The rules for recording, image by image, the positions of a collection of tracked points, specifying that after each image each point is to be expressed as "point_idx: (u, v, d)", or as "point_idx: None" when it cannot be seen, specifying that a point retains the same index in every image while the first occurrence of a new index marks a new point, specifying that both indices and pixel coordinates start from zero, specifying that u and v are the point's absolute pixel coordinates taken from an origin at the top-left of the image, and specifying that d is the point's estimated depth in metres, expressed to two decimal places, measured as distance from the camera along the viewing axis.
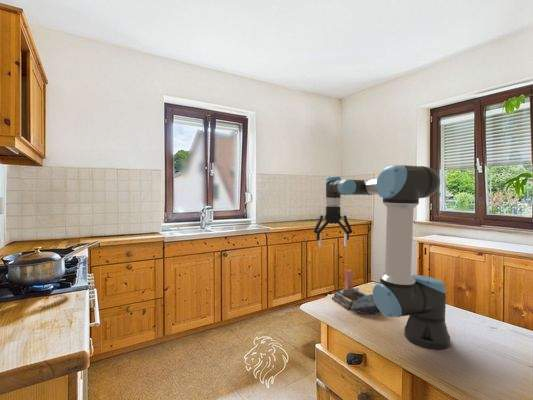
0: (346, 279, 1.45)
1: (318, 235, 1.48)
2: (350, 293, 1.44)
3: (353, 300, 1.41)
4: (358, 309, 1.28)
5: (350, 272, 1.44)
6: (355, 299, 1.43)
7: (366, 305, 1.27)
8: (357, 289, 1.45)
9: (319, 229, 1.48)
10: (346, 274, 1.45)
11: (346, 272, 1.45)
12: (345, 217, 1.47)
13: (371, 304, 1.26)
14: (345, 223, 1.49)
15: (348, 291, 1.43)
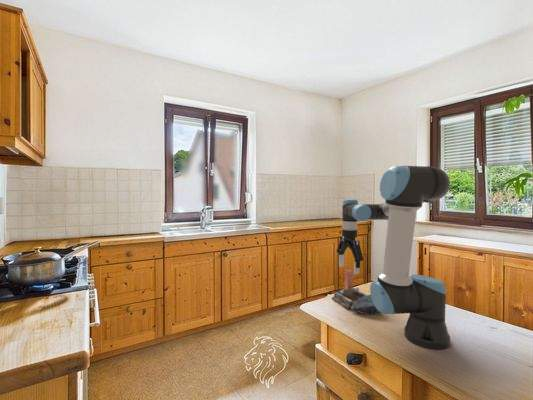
0: (346, 279, 1.45)
1: None
2: (350, 293, 1.44)
3: (353, 300, 1.41)
4: (358, 309, 1.28)
5: (350, 272, 1.44)
6: (355, 299, 1.43)
7: (366, 305, 1.26)
8: (357, 289, 1.45)
9: None
10: (346, 274, 1.45)
11: (346, 272, 1.45)
12: (354, 243, 1.39)
13: (371, 304, 1.26)
14: None
15: (348, 291, 1.43)
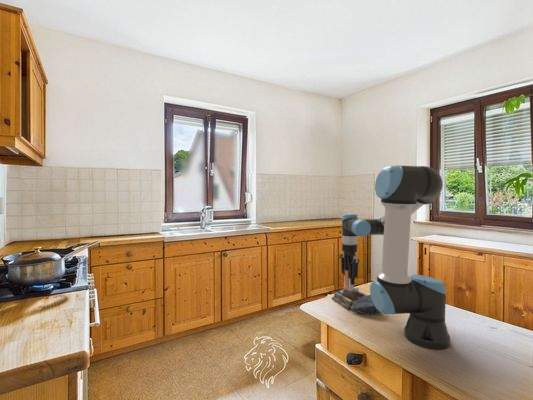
0: (346, 279, 1.45)
1: (344, 276, 1.48)
2: (350, 293, 1.44)
3: (353, 300, 1.41)
4: (358, 309, 1.28)
5: None
6: (355, 299, 1.43)
7: (366, 305, 1.26)
8: (357, 289, 1.45)
9: None
10: (346, 274, 1.45)
11: (346, 272, 1.45)
12: (353, 261, 1.39)
13: (370, 304, 1.26)
14: None
15: (348, 291, 1.43)
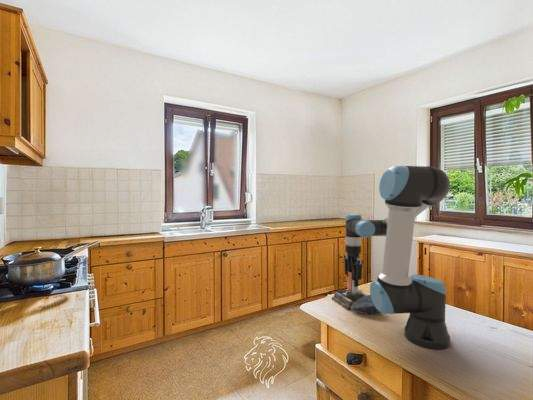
0: (349, 281, 1.42)
1: None
2: (354, 295, 1.41)
3: None
4: (358, 309, 1.28)
5: None
6: None
7: (366, 305, 1.26)
8: (361, 291, 1.42)
9: None
10: (349, 276, 1.42)
11: (349, 274, 1.42)
12: (357, 262, 1.36)
13: (370, 304, 1.26)
14: None
15: (351, 293, 1.40)
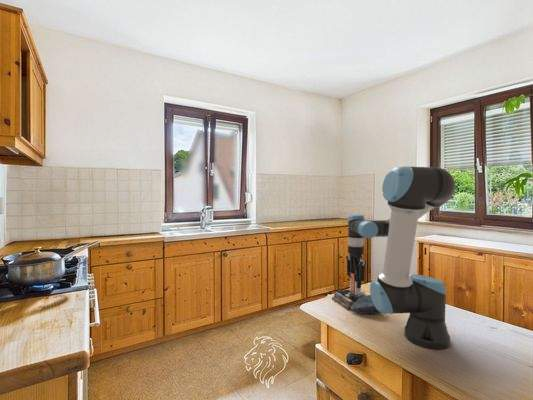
0: (352, 282, 1.40)
1: (350, 279, 1.43)
2: (356, 297, 1.39)
3: None
4: (358, 309, 1.28)
5: None
6: None
7: (366, 306, 1.26)
8: (363, 292, 1.40)
9: None
10: (352, 277, 1.40)
11: (352, 275, 1.40)
12: (360, 263, 1.34)
13: (370, 304, 1.26)
14: None
15: (354, 295, 1.38)
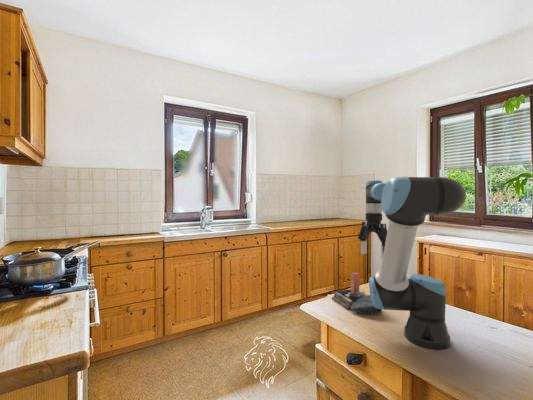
0: (352, 282, 1.40)
1: None
2: (356, 297, 1.39)
3: None
4: (358, 309, 1.28)
5: (356, 275, 1.39)
6: None
7: (366, 306, 1.26)
8: (363, 292, 1.40)
9: None
10: (352, 277, 1.40)
11: (352, 275, 1.40)
12: (381, 226, 1.30)
13: (370, 304, 1.26)
14: None
15: (354, 295, 1.38)
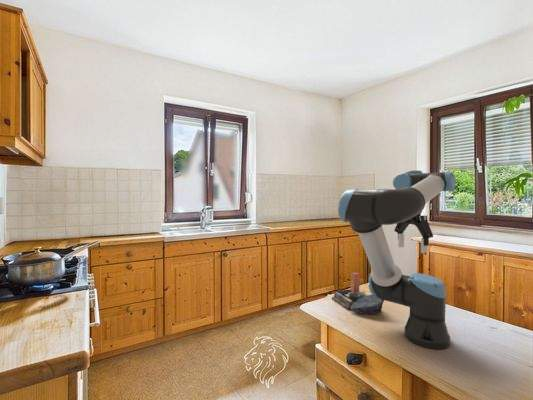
0: (352, 282, 1.40)
1: (398, 235, 1.38)
2: (356, 297, 1.39)
3: None
4: (357, 309, 1.28)
5: (356, 275, 1.39)
6: None
7: (366, 306, 1.26)
8: (363, 292, 1.40)
9: None
10: (352, 277, 1.40)
11: (352, 275, 1.40)
12: (421, 218, 1.25)
13: (370, 304, 1.26)
14: None
15: (354, 295, 1.38)
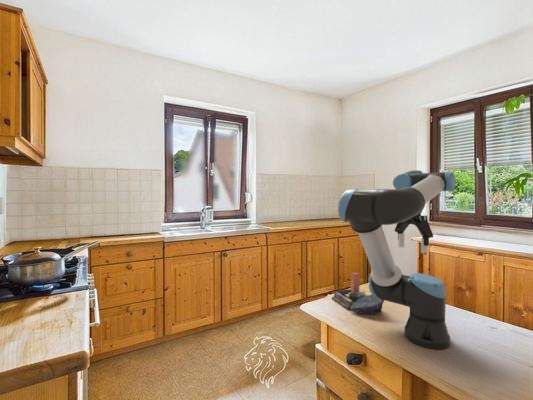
0: (352, 282, 1.40)
1: (398, 235, 1.38)
2: (356, 297, 1.39)
3: None
4: (357, 309, 1.28)
5: (356, 275, 1.39)
6: None
7: (366, 306, 1.26)
8: (363, 292, 1.40)
9: None
10: (352, 277, 1.40)
11: (352, 275, 1.40)
12: (421, 218, 1.25)
13: (370, 305, 1.26)
14: None
15: (354, 295, 1.38)
